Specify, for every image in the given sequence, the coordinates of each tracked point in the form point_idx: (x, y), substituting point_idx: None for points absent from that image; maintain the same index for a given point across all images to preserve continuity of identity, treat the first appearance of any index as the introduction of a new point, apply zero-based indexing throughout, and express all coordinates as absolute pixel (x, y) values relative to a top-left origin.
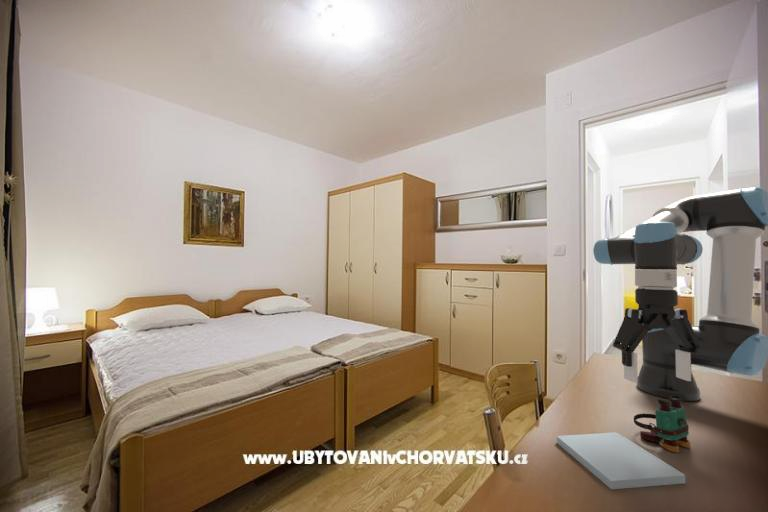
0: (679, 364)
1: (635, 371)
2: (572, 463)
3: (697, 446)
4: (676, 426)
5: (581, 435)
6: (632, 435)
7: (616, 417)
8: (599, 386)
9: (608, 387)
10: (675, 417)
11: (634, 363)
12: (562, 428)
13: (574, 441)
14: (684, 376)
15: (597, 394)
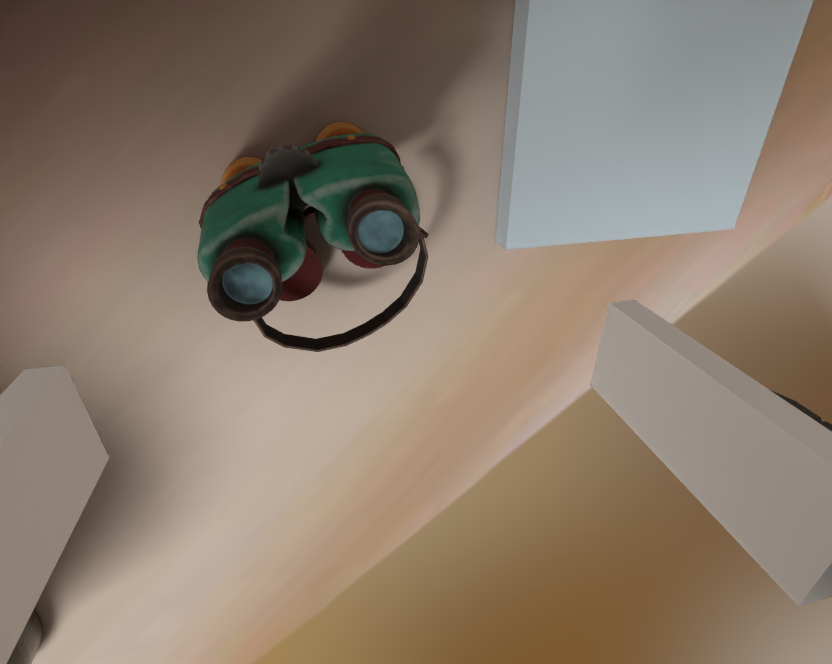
0: (24, 557)
1: (692, 350)
2: None
3: (184, 169)
4: (334, 153)
5: (652, 230)
6: (409, 265)
7: (354, 396)
8: (218, 619)
9: (184, 618)
10: (333, 170)
11: (776, 396)
12: None
13: (713, 189)
14: (62, 417)
15: (281, 557)
